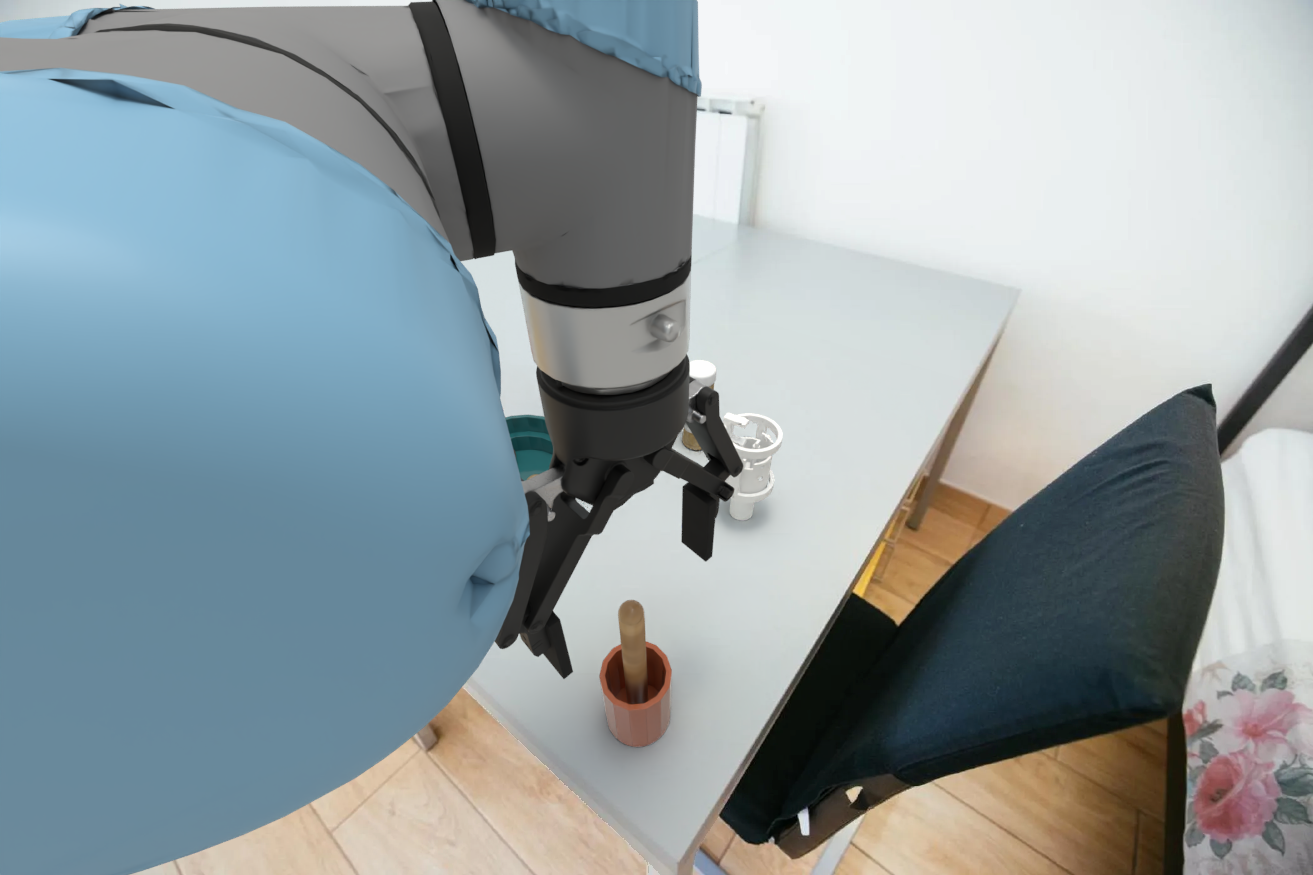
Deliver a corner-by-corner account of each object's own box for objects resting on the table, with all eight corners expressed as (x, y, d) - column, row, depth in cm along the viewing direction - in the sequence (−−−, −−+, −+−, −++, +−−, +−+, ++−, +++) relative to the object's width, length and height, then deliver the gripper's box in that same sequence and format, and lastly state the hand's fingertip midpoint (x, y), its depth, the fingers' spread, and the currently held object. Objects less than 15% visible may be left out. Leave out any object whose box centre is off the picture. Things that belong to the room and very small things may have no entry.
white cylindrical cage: (729, 485, 75) (739, 398, 66) (776, 505, 72) (793, 418, 63) (704, 517, 71) (711, 429, 61) (753, 540, 68) (768, 452, 58)
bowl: (503, 541, 68) (494, 509, 65) (448, 479, 77) (436, 448, 73) (598, 482, 76) (594, 450, 72) (538, 432, 85) (532, 401, 81)
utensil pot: (636, 763, 49) (632, 726, 44) (593, 710, 52) (585, 670, 47) (684, 714, 52) (686, 675, 47) (640, 667, 56) (638, 626, 50)
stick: (637, 725, 51) (629, 623, 39) (623, 709, 52) (611, 605, 40) (653, 710, 52) (649, 606, 40) (639, 695, 53) (631, 589, 41)
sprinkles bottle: (712, 451, 81) (718, 376, 72) (682, 451, 81) (684, 377, 72) (709, 431, 84) (714, 358, 76) (680, 432, 84) (682, 358, 76)
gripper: (390, 540, 18) (513, 770, 32) (826, 296, 30) (777, 537, 44) (315, 433, 22) (453, 678, 36) (726, 258, 35) (710, 489, 48)
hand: (632, 600), depth 40 cm, fingers open, 13 cm apart
